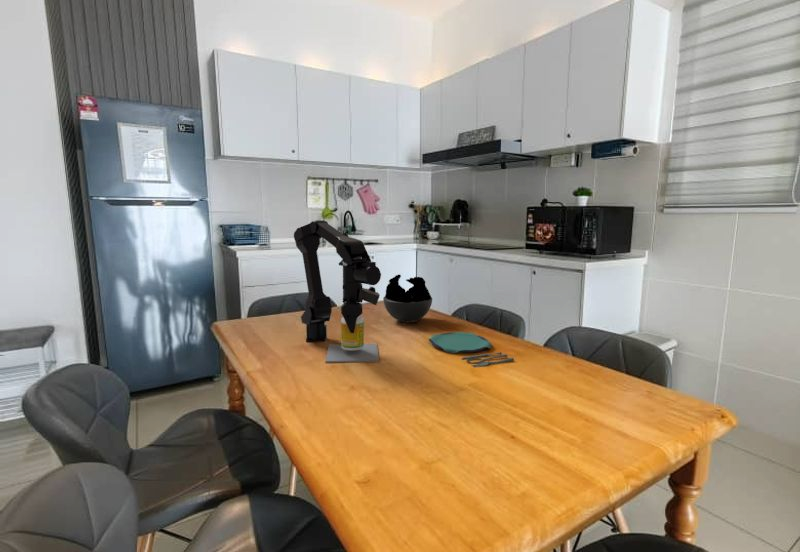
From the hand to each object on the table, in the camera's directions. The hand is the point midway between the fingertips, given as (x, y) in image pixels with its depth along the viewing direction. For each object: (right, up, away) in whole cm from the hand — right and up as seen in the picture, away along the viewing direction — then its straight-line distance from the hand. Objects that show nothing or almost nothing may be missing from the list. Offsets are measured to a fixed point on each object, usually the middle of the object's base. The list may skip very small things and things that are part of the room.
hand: (352, 329), depth 134 cm
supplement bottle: (0, -6, +1) cm, 6 cm away
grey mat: (0, -8, +1) cm, 8 cm away
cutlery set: (+37, -8, +6) cm, 38 cm away
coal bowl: (+18, -2, +41) cm, 45 cm away
